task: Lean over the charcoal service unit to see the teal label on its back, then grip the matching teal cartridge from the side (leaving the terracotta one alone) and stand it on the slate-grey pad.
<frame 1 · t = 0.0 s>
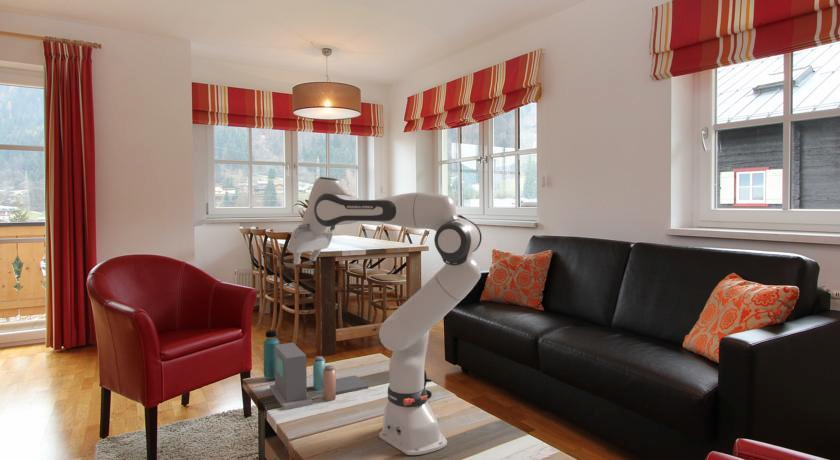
hand: (304, 262, 167), 52 cm above the table, tool tilted 20°, fingers open, 8 cm apart
teal cartridge: (319, 387, 193), on the table
service unit: (290, 396, 184), on the table
webcam: (421, 396, 185), on the table
terracotta cartridge: (329, 398, 182), on the table
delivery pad: (346, 385, 195), on the table
beverage bottle: (271, 379, 202), on the table
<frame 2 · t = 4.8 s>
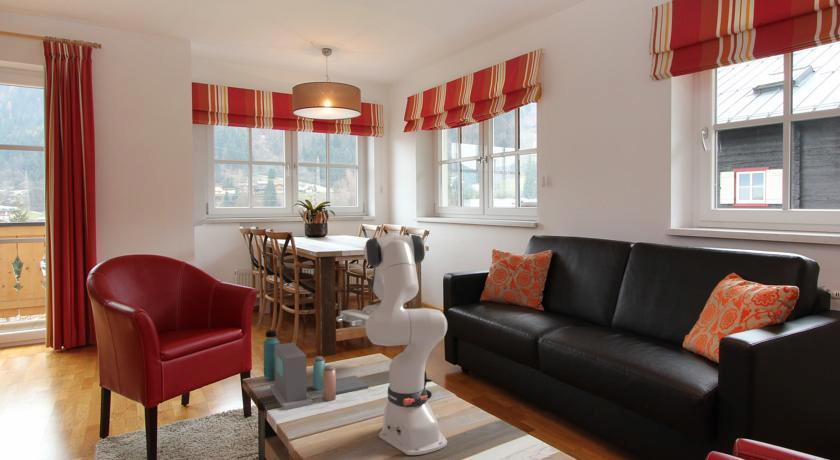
hand: (344, 321, 200), 24 cm above the table, tool horizontal, fingers open, 8 cm apart
nothing on the table moved.
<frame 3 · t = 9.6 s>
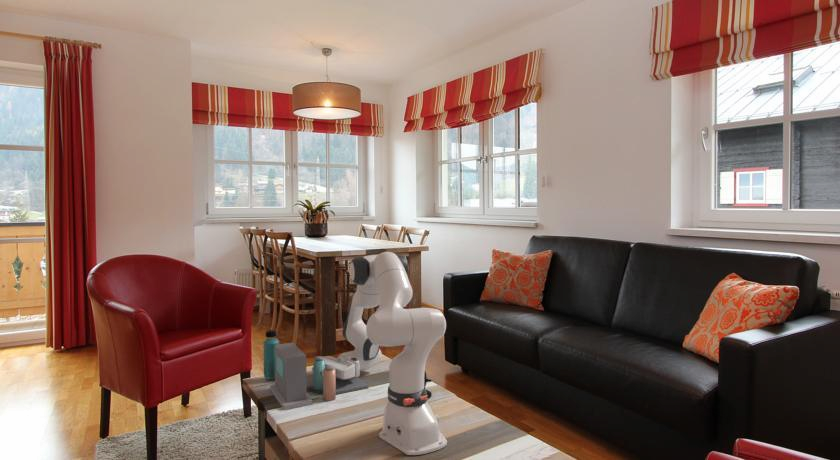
hand: (317, 371, 192), 7 cm above the table, tool horizontal, fingers closed on teal cartridge, 4 cm apart
teal cartridge: (319, 387, 193), on the table, touching gripper
everything else where it was.
when the fingers open (9 cm above the table, at t = 14.6 s): teal cartridge drops 1 cm, resting on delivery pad.
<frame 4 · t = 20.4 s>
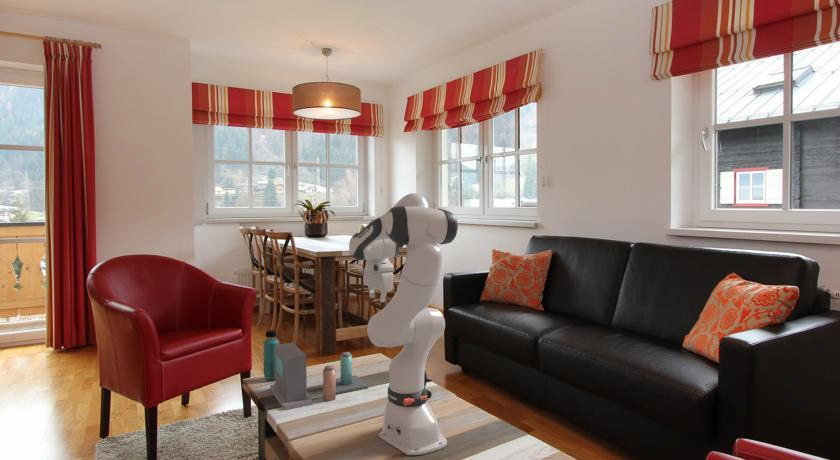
hand: (377, 299, 194), 34 cm above the table, tool pointing down, fingers open, 8 cm apart
teal cartridge: (346, 383, 195), point 1 cm above the table, touching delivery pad
everything else where it was.
at the end: teal cartridge inside the target area on the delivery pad (0.0 cm from its centre), point 1.0 cm above the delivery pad's base; teal cartridge tilted 0°; terracotta cartridge moved 0.0 cm from its start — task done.
